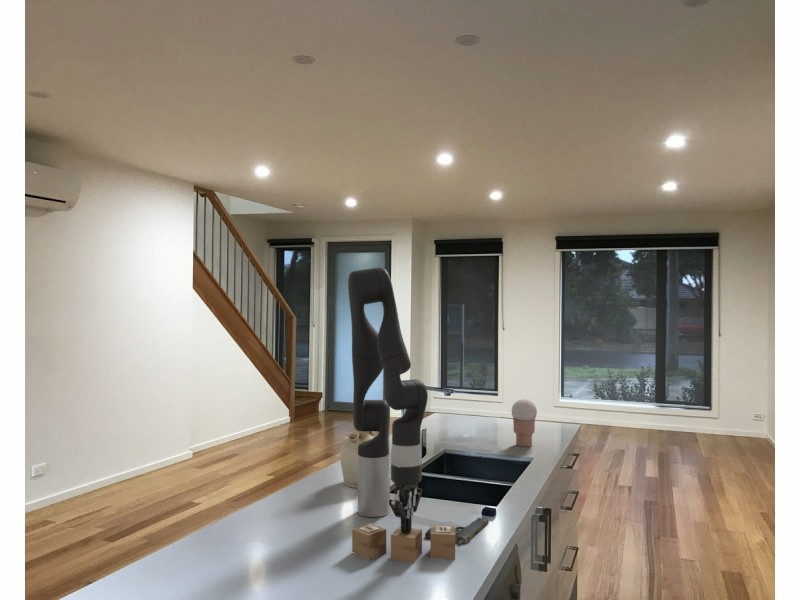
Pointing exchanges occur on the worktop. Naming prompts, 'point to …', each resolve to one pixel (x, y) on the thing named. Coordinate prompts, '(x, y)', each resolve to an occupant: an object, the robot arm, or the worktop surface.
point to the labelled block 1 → (369, 540)
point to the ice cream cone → (524, 421)
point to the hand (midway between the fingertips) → (406, 532)
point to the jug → (352, 456)
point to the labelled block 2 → (442, 542)
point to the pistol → (466, 531)
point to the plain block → (406, 545)
